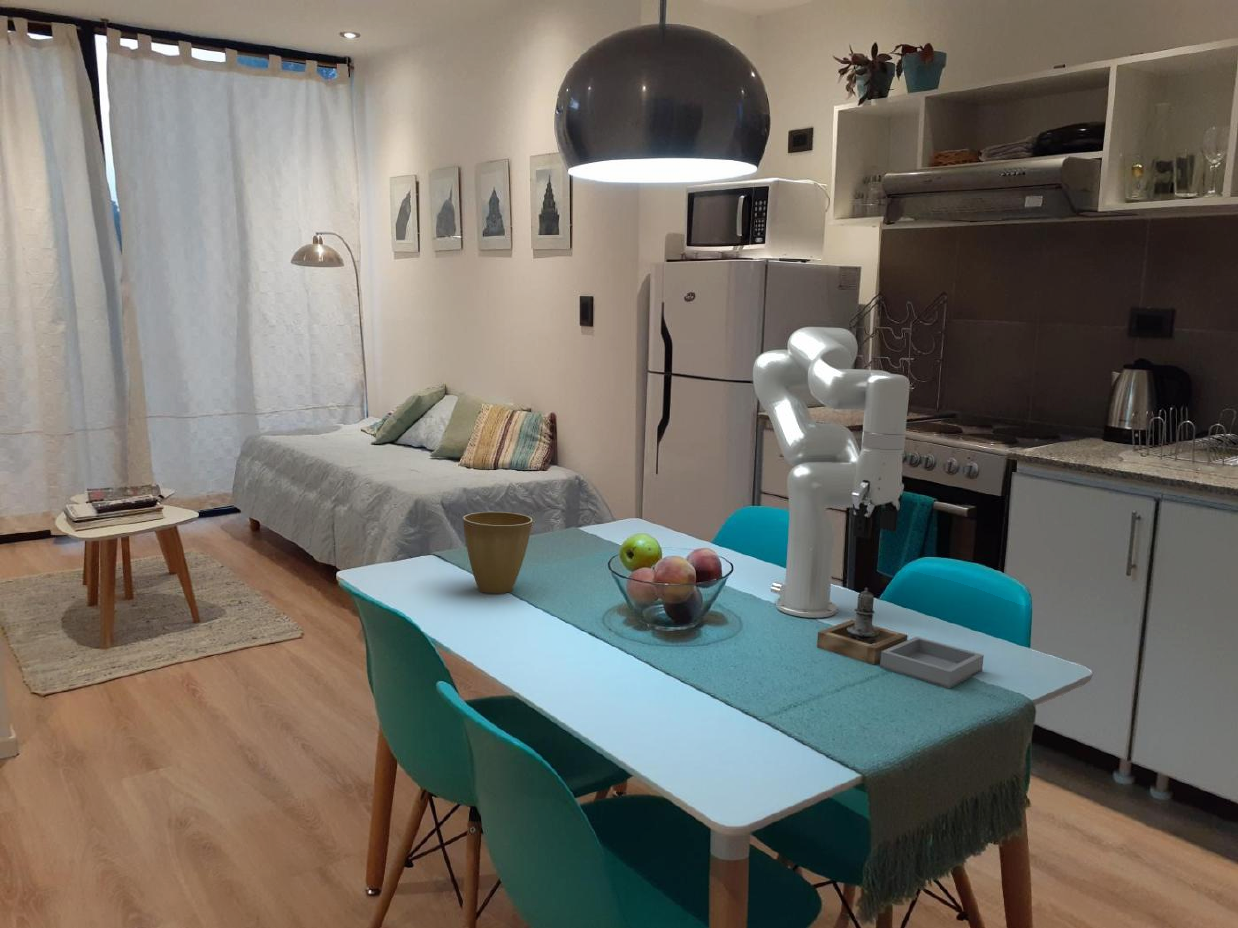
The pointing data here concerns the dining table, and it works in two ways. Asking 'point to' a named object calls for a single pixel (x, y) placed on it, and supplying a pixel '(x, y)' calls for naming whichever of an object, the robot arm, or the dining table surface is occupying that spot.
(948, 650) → the grey tray
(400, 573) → the dining table surface
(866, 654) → the wooden tray
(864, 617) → the grey chess piece
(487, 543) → the plant pot
